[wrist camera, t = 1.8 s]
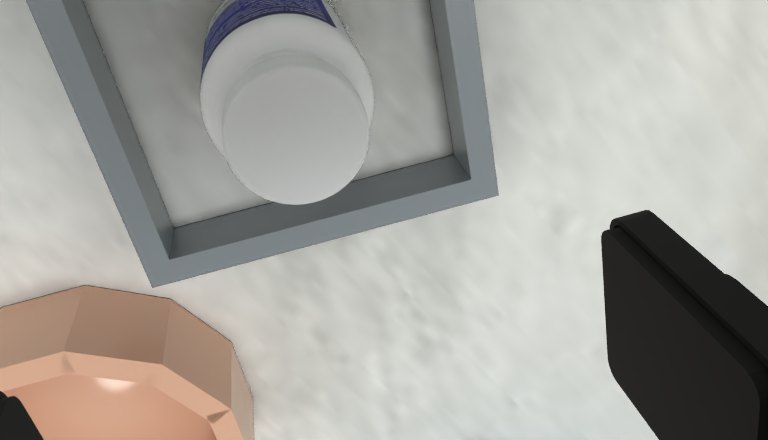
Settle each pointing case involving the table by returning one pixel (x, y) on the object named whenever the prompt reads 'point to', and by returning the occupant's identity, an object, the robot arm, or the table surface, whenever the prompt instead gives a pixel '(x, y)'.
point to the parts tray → (274, 220)
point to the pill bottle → (286, 98)
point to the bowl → (121, 369)
